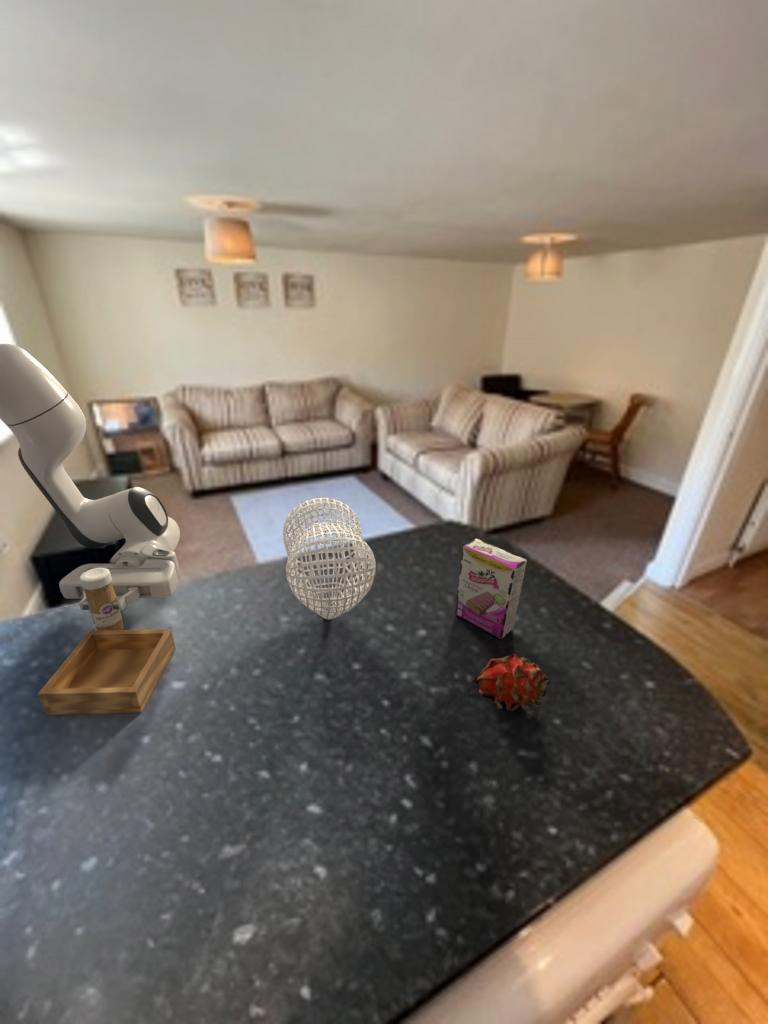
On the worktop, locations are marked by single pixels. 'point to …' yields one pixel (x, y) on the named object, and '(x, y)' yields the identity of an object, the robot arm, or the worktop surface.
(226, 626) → the worktop surface
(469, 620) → the candy bar box
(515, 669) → the dragon fruit
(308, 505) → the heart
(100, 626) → the sprinkles bottle
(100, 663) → the holder
